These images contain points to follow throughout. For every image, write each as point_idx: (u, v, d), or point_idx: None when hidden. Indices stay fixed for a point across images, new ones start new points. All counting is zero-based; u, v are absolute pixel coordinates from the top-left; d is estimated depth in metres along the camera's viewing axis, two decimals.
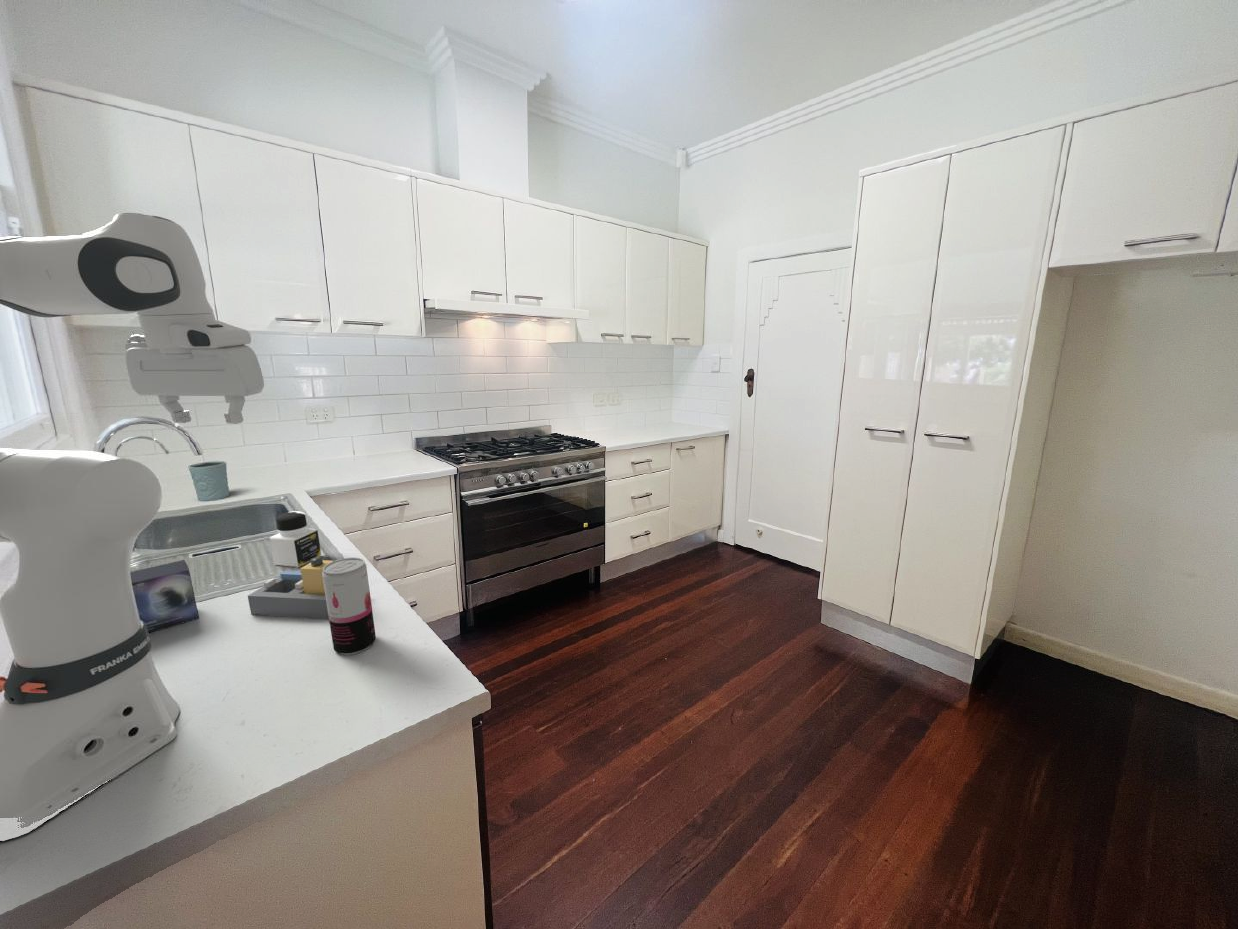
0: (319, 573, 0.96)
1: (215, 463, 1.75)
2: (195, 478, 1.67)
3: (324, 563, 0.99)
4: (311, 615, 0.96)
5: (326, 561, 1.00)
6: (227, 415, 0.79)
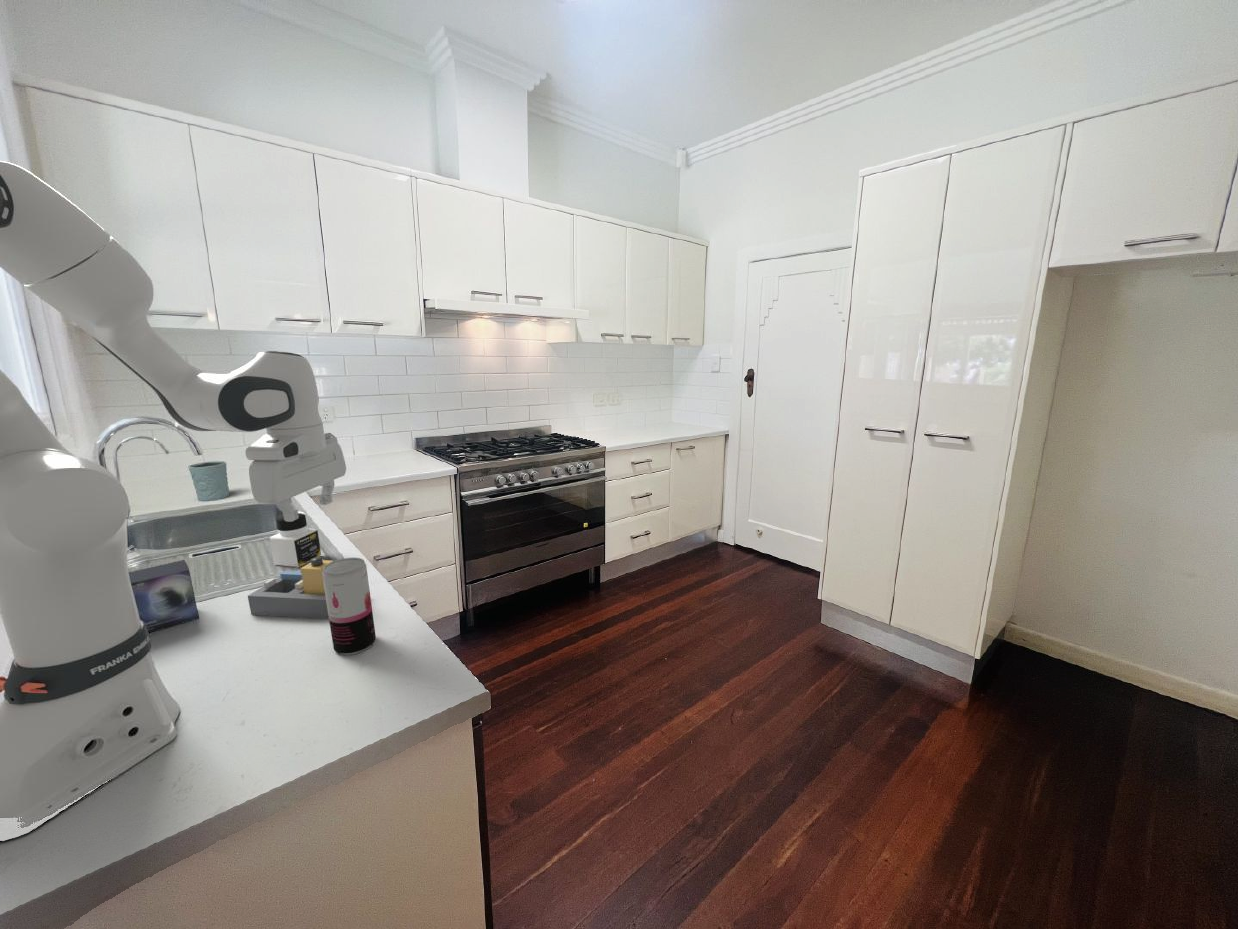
0: (319, 573, 0.96)
1: (215, 463, 1.75)
2: (195, 478, 1.67)
3: (324, 563, 0.99)
4: (311, 615, 0.96)
5: (326, 561, 1.00)
6: None
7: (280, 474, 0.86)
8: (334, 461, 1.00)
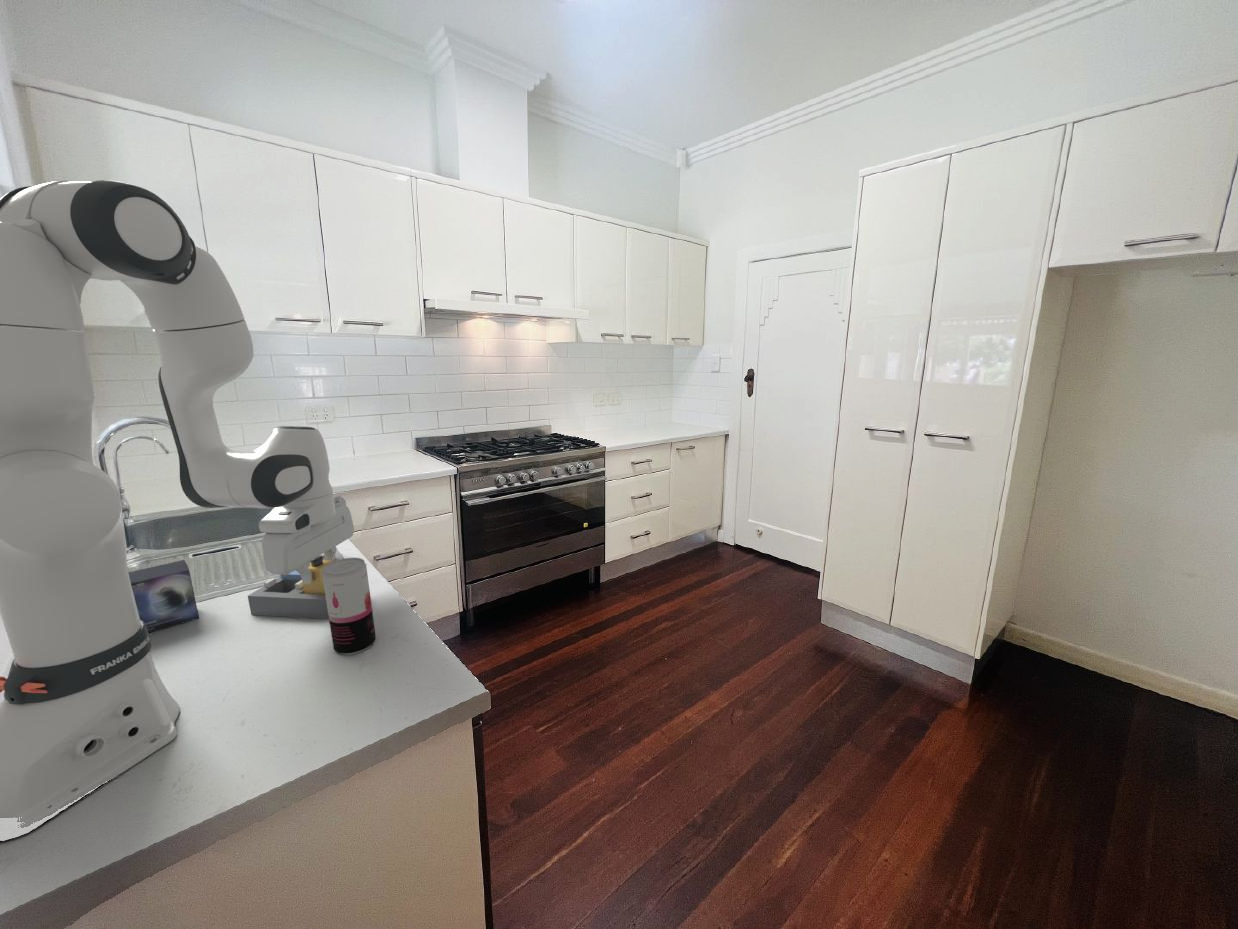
0: (319, 573, 0.96)
1: None
2: None
3: (324, 563, 0.99)
4: (311, 615, 0.96)
5: (326, 561, 1.00)
6: None
7: (291, 546, 0.89)
8: (343, 524, 1.03)
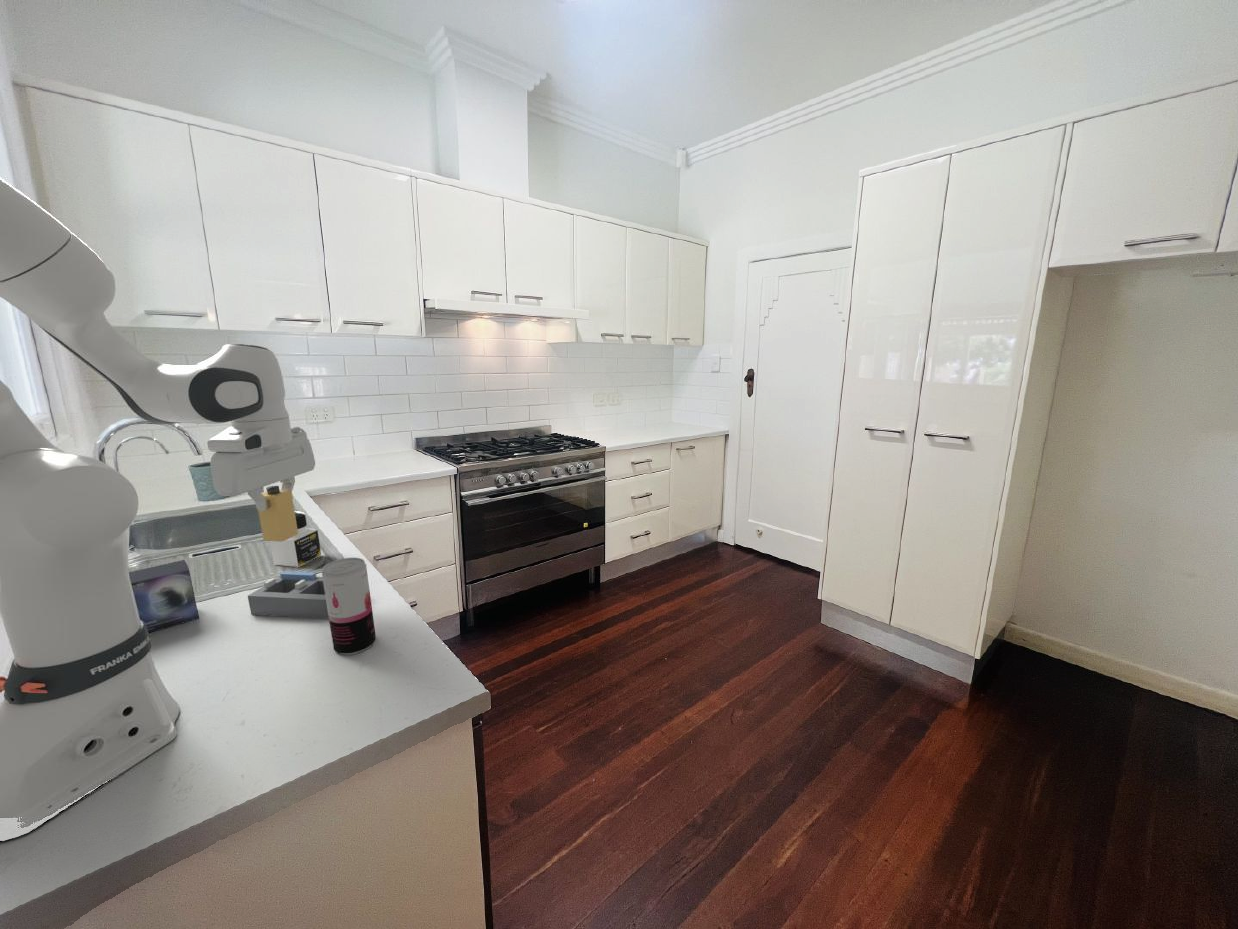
0: (274, 500, 0.94)
1: None
2: (195, 478, 1.67)
3: (281, 492, 0.96)
4: (311, 615, 0.96)
5: (283, 491, 0.97)
6: None
7: (242, 466, 0.86)
8: (302, 455, 1.00)
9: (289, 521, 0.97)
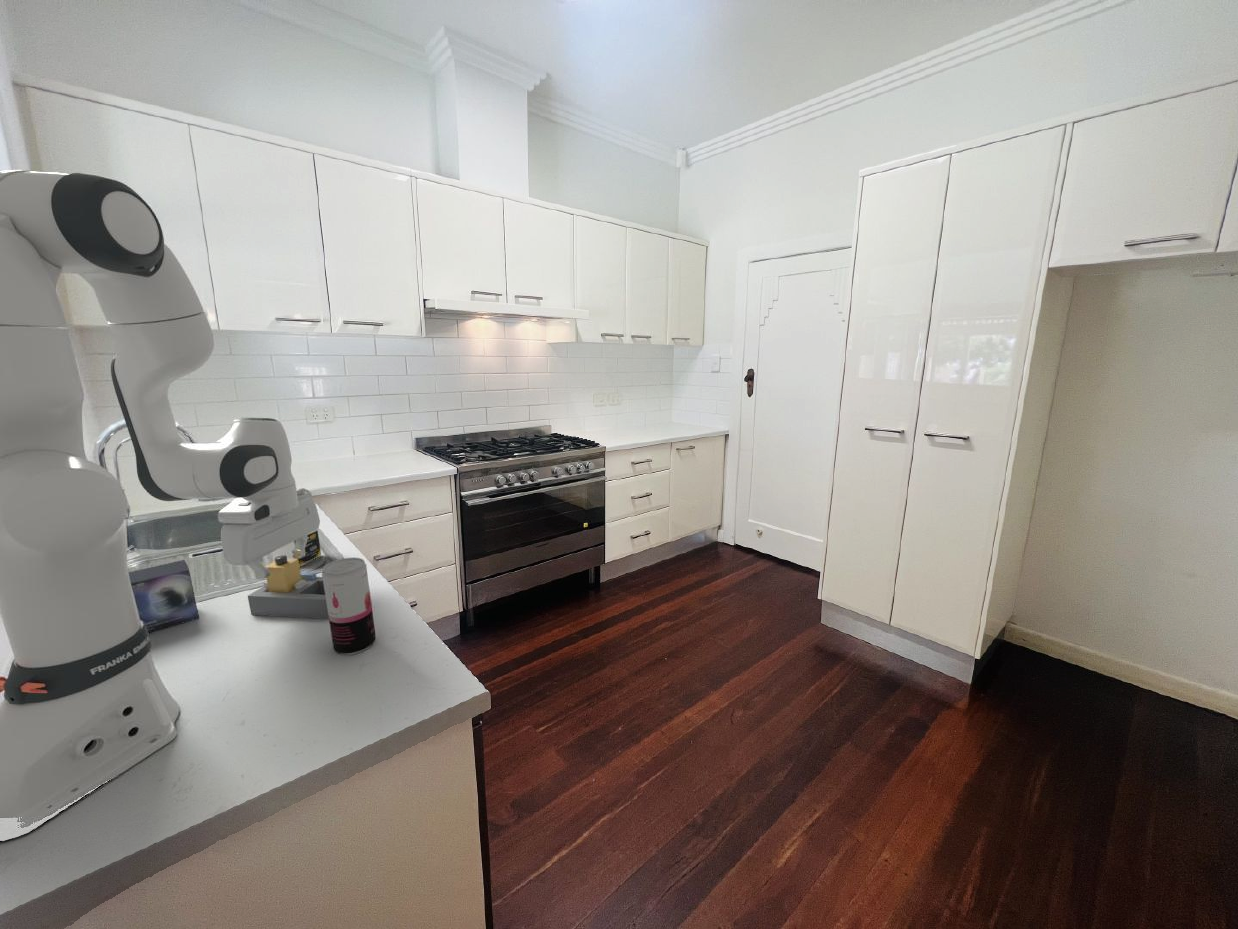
0: (283, 571, 0.97)
1: None
2: None
3: (288, 562, 0.99)
4: (311, 615, 0.96)
5: (291, 560, 1.00)
6: None
7: (251, 536, 0.90)
8: (307, 516, 1.03)
9: None
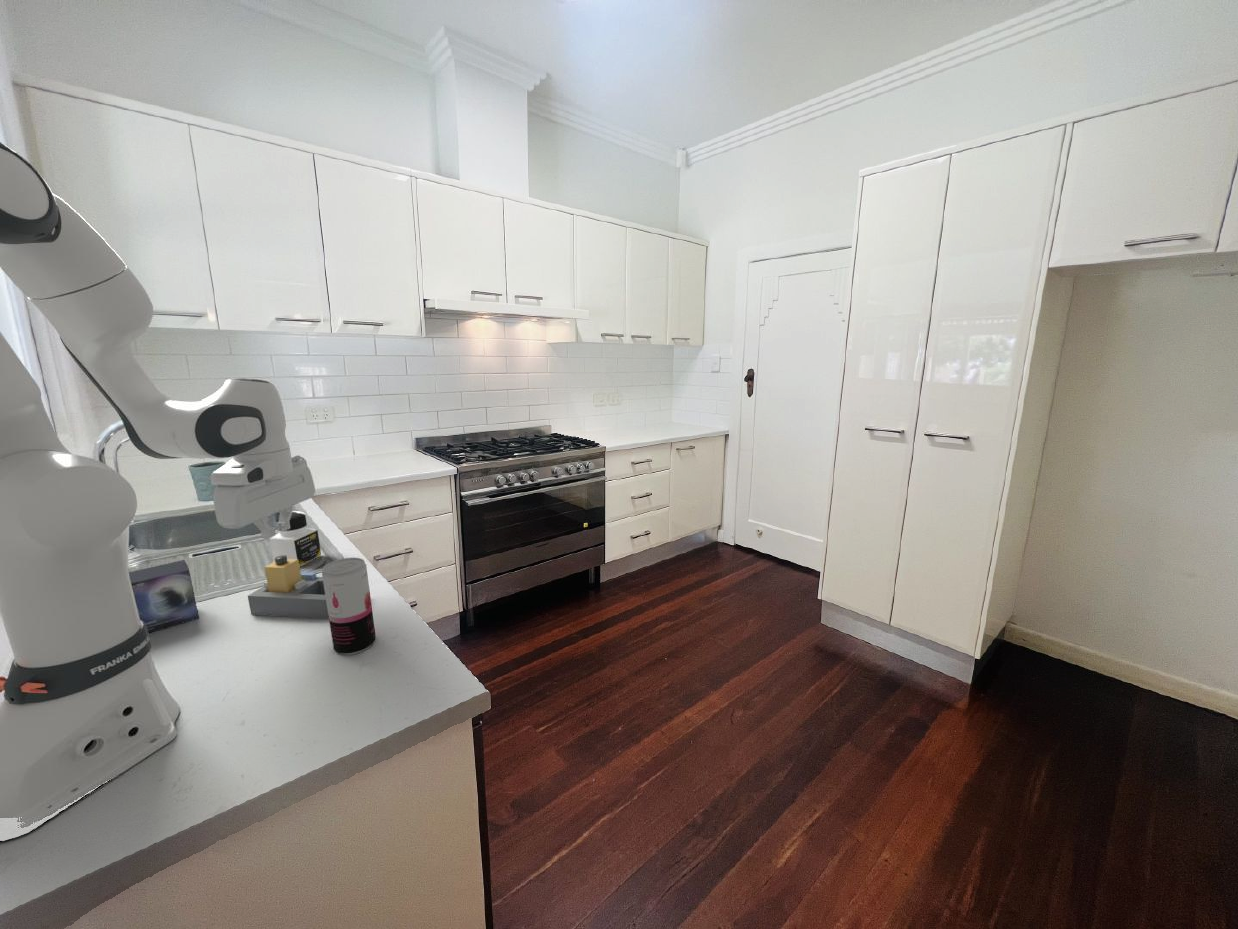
0: (283, 571, 0.97)
1: (215, 463, 1.75)
2: (195, 478, 1.67)
3: (288, 562, 0.99)
4: (311, 615, 0.96)
5: (291, 560, 1.00)
6: None
7: (244, 499, 0.88)
8: (302, 483, 1.02)
9: None
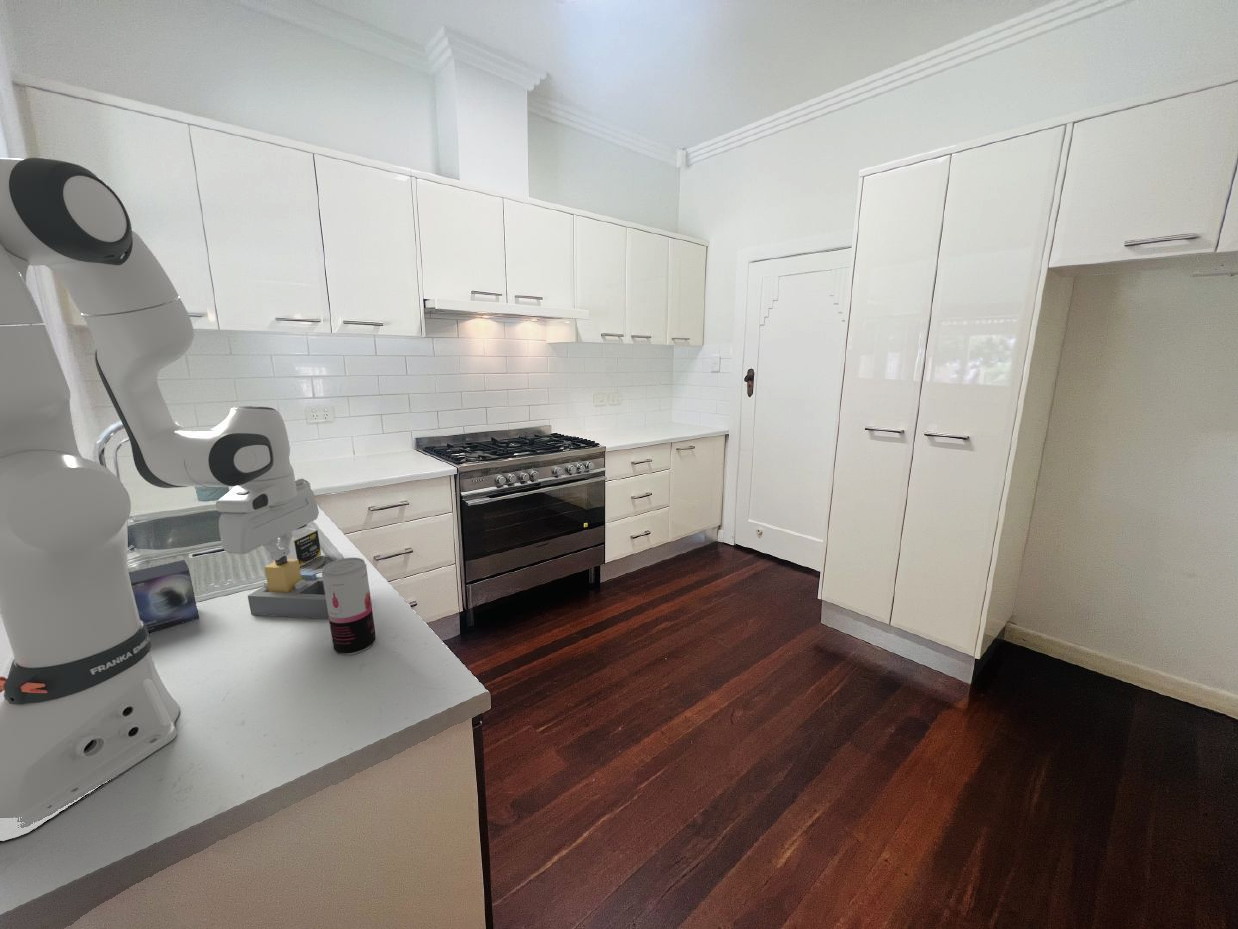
0: (283, 571, 0.97)
1: None
2: None
3: (288, 562, 0.99)
4: (311, 615, 0.96)
5: (291, 560, 1.00)
6: None
7: (249, 525, 0.89)
8: (306, 506, 1.03)
9: None
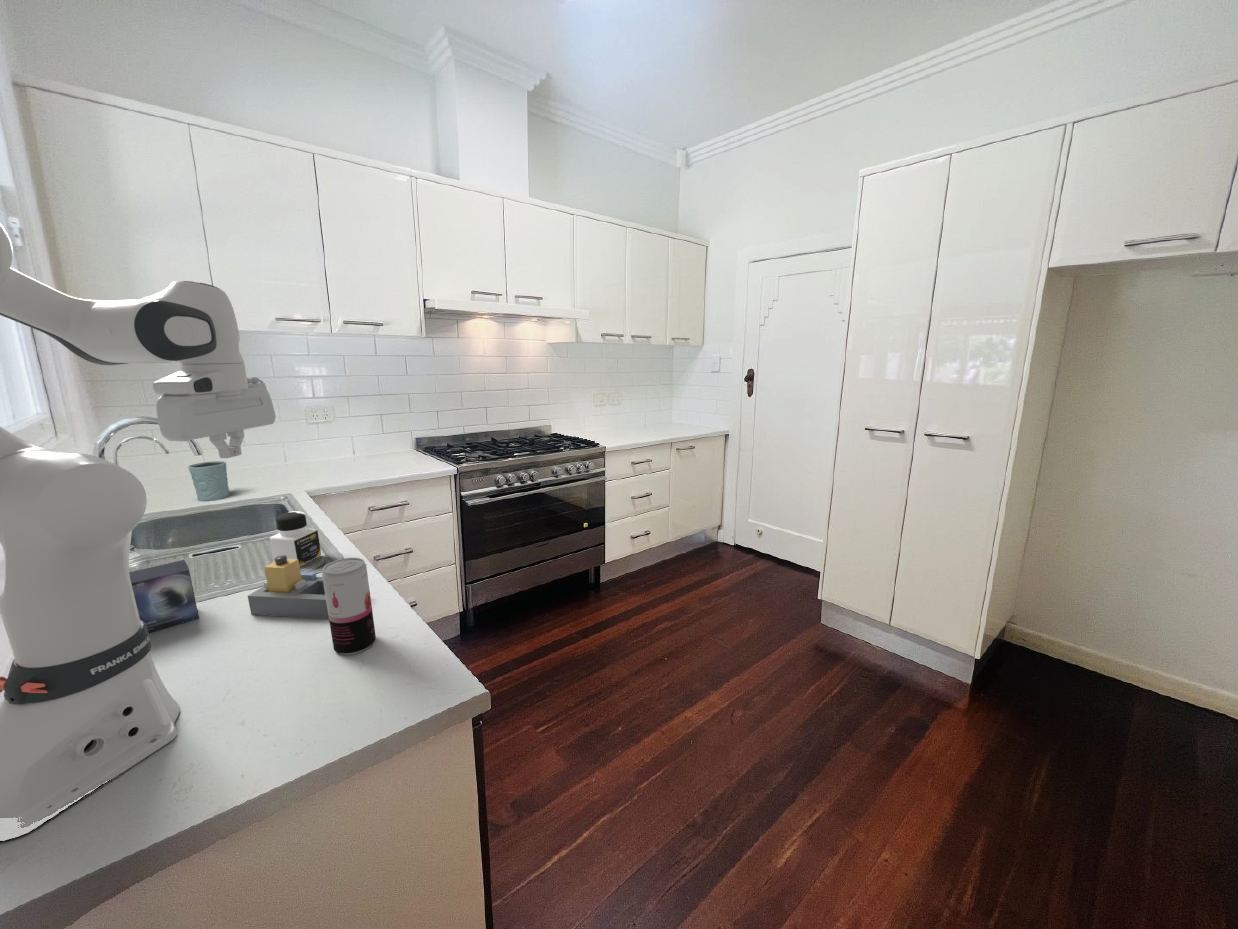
0: (283, 571, 0.97)
1: (215, 463, 1.75)
2: (195, 478, 1.67)
3: (288, 562, 0.99)
4: (311, 615, 0.96)
5: (291, 560, 1.00)
6: None
7: (190, 410, 0.82)
8: (260, 407, 0.96)
9: None
